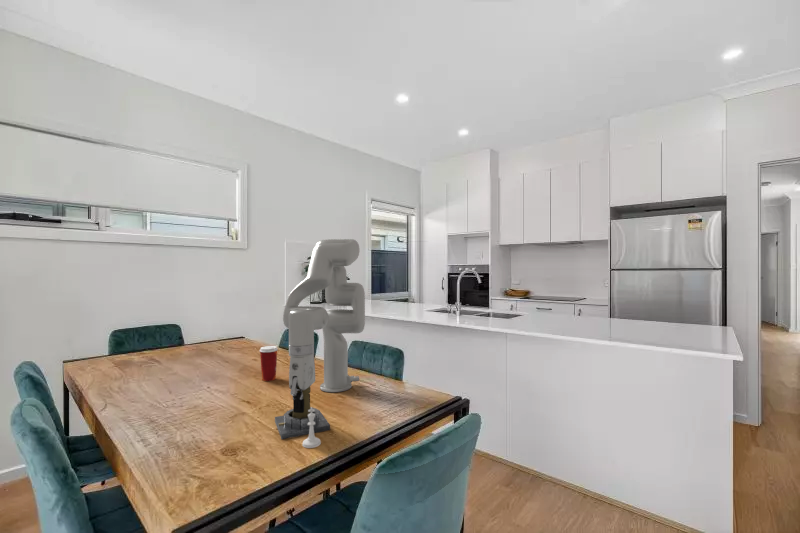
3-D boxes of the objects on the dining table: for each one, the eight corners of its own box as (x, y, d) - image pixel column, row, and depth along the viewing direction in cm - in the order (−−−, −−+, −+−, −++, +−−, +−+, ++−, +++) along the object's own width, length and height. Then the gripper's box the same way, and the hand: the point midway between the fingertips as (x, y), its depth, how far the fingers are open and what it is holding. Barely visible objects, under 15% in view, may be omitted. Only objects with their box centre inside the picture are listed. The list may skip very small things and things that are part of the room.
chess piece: (303, 440, 107) (303, 404, 107) (321, 439, 108) (321, 404, 108) (300, 448, 102) (300, 411, 102) (319, 447, 103) (319, 410, 103)
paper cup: (281, 378, 168) (281, 346, 169) (267, 383, 162) (267, 349, 162) (270, 376, 173) (269, 344, 173) (255, 380, 166) (255, 348, 166)
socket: (318, 414, 127) (318, 402, 127) (330, 430, 114) (330, 417, 114) (274, 421, 121) (274, 409, 121) (281, 439, 108) (281, 425, 108)
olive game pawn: (298, 425, 113) (298, 388, 113) (288, 419, 117) (287, 383, 118) (315, 419, 118) (315, 383, 118) (305, 414, 122) (305, 379, 122)
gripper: (302, 356, 109) (302, 420, 109) (322, 344, 125) (322, 400, 125) (277, 355, 110) (278, 419, 110) (300, 344, 126) (301, 399, 126)
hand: (301, 408), depth 117 cm, fingers closed on olive game pawn, 4 cm apart
